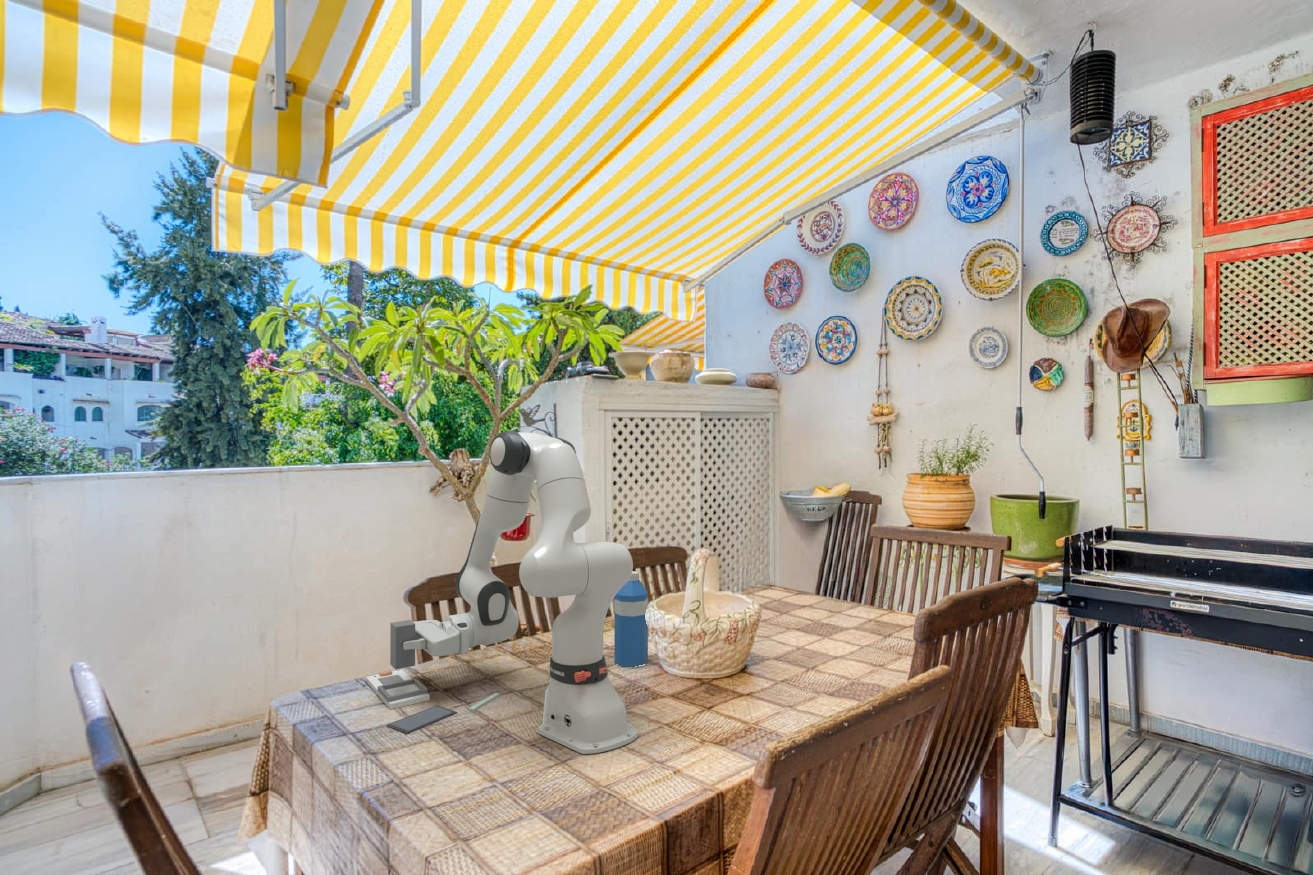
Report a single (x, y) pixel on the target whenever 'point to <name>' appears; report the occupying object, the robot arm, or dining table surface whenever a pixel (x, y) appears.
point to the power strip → (398, 688)
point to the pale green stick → (484, 702)
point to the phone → (421, 719)
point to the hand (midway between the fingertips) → (398, 642)
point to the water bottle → (631, 624)
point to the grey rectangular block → (397, 636)
